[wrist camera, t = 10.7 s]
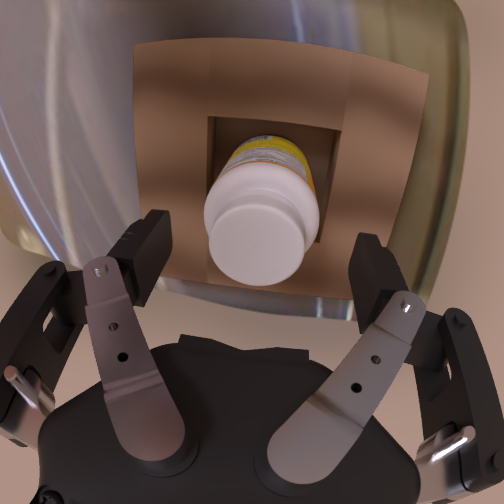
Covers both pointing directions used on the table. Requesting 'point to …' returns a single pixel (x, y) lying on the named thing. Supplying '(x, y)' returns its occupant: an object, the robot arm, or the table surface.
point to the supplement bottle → (262, 211)
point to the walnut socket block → (281, 123)
